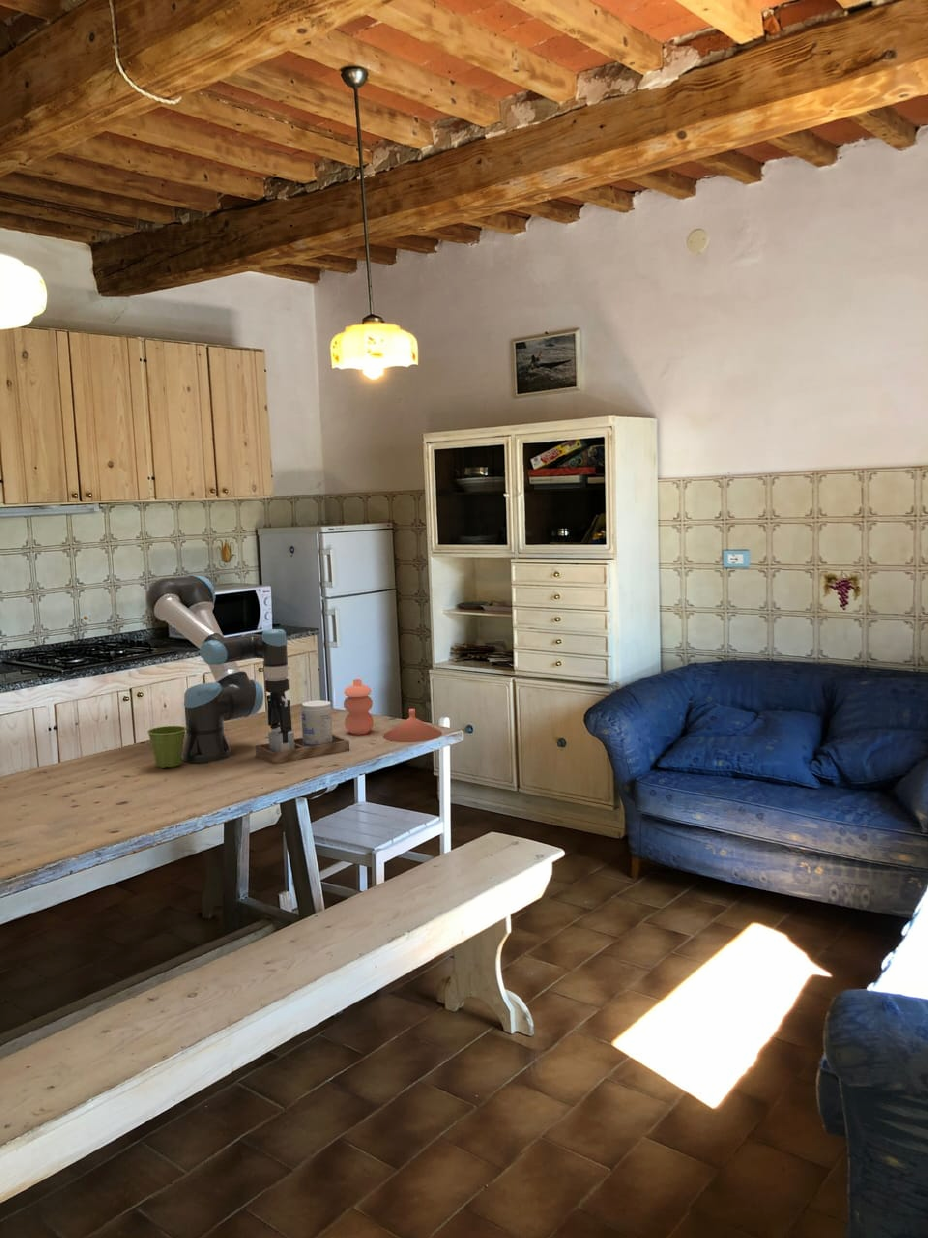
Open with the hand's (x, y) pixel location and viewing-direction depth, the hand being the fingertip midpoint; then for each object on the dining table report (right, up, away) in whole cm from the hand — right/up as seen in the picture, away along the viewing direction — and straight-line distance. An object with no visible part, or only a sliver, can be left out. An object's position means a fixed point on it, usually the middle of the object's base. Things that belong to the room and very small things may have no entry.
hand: (281, 750), depth 316 cm
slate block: (0, 0, 0) cm, 1 cm away
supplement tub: (+11, 0, +7) cm, 13 cm away
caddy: (+6, -1, +4) cm, 8 cm away
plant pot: (-34, -4, -5) cm, 34 cm away
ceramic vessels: (+34, +2, +26) cm, 43 cm away
